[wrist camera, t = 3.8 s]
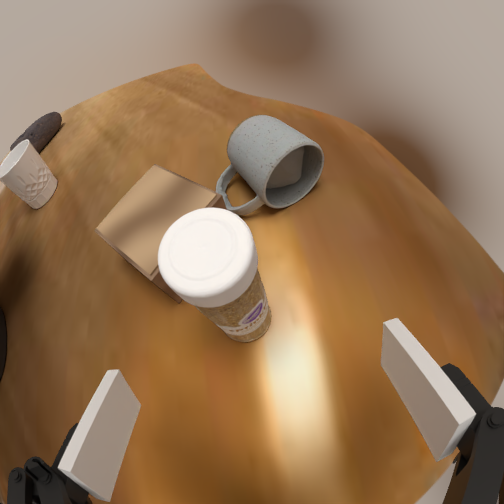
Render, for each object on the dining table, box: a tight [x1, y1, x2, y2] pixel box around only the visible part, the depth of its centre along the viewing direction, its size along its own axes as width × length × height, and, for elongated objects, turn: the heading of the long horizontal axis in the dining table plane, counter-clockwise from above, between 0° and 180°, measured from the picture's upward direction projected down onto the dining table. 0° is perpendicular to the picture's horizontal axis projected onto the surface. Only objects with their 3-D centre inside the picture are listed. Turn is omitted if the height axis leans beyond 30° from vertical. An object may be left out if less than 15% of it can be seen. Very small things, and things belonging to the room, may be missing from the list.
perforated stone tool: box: [10, 112, 62, 154], centre depth 43 cm, size 15×5×7 cm, turn 148°
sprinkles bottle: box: [158, 208, 271, 342], centre depth 18 cm, size 5×5×14 cm
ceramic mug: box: [216, 115, 324, 215], centre depth 27 cm, size 11×8×8 cm
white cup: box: [0, 139, 57, 209], centre depth 33 cm, size 8×8×10 cm
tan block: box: [95, 164, 227, 303], centre depth 25 cm, size 9×9×6 cm
